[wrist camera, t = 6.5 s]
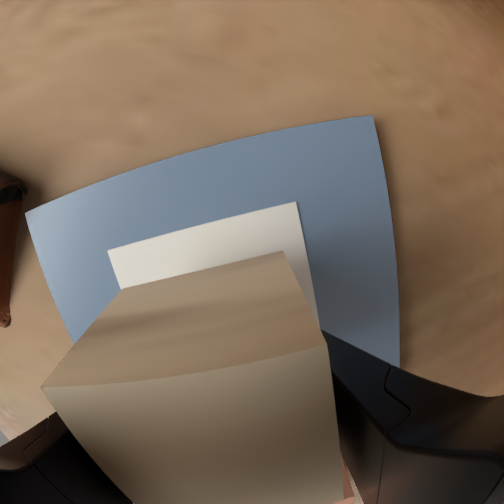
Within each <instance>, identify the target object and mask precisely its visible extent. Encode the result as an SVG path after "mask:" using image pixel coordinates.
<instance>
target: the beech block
mask: <svg viewBox="0 0 504 504" xmlns="http://www.w3.org/2000/svg"><path fill="white" fill-rule="evenodd" d="M41 389H42V390H43V392H44V393H45V395H46V397H47V398H48V400H49V401H50V403H51V404H52V406H53V407H54V409H55V410H56V412H57V413H58V415H59V416H60V417H61V419H62V420H63V422H64V423H65V424H66V426H67V427H68V429H69V430H70V431H71V433H72V434H73V435H74V437H75V438H76V439H77V440H78V442H79V443H80V444H81V445H82V447H83V448H84V449H85V450H86V452H87V453H88V454H89V455H90V457H91V458H92V459H93V460H94V461H95V462H96V464H97V465H98V466H99V467H100V468H101V469H102V470H103V472H104V473H105V474H106V475H107V476H108V477H109V478H110V479H111V480H112V481H113V482H114V484H115V485H116V486H117V487H118V488H119V489H120V490H121V491H122V492H123V493H124V494H125V495H126V496H127V497H128V498H129V499H130V500H131V501H132V502H133V503H134V504H331V503H335V502H339V501H342V500H344V493H343V479H342V467H341V456H340V445H339V435H338V425H337V416H336V408H335V399H334V391H333V383H332V376H331V369H330V361H329V354H328V347H327V343H326V341H325V339H324V337H323V334H322V332H321V330H320V328H319V326H318V324H317V322H316V319H315V317H314V315H313V313H312V311H311V309H310V307H309V304H308V302H307V300H306V298H305V296H304V294H303V292H302V290H301V288H300V285H299V283H298V281H297V279H296V277H295V275H294V273H293V271H292V269H291V267H290V265H289V263H288V260H287V258H286V256H285V254H284V252H283V250H282V251H278V252H274V253H269V254H265V255H261V256H257V257H253V258H249V259H245V260H240V261H236V262H232V263H228V264H224V265H220V266H215V267H211V268H207V269H203V270H199V271H194V272H190V273H186V274H182V275H178V276H173V277H169V278H165V279H161V280H156V281H152V282H148V283H144V284H140V285H135V286H131V287H127V288H123V289H122V290H121V291H120V292H119V293H118V294H117V295H116V296H115V298H114V299H113V300H112V301H111V302H110V303H109V304H108V306H107V307H106V308H105V309H104V310H103V311H102V312H101V314H100V315H99V316H98V317H97V318H96V319H95V321H94V322H93V323H92V324H91V325H90V326H89V328H88V329H87V330H86V331H85V332H84V334H83V335H82V336H81V337H80V338H79V340H78V341H77V342H76V343H75V344H74V346H73V347H72V348H71V349H70V351H69V352H68V353H67V354H66V356H65V357H64V358H63V359H62V361H61V362H60V363H59V364H58V366H57V367H56V368H55V369H54V371H53V372H52V373H51V374H50V376H49V377H48V378H47V380H46V381H45V382H44V384H43V385H42V386H41Z"/></svg>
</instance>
